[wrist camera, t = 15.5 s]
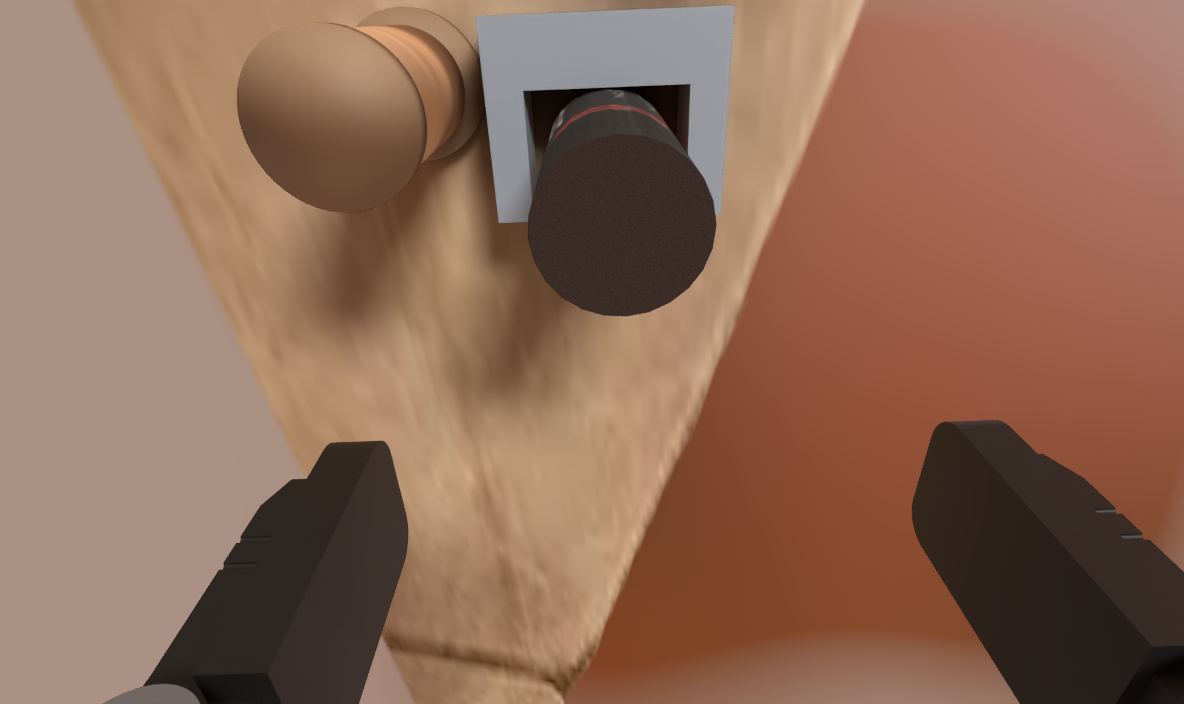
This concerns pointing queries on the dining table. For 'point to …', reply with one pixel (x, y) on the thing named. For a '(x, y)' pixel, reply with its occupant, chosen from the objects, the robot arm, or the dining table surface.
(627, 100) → the deodorant
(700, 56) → the notch board
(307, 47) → the bobbin
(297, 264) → the dining table surface
